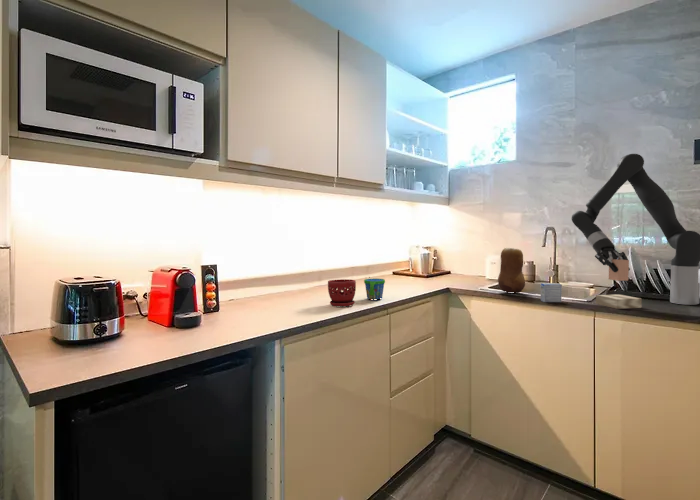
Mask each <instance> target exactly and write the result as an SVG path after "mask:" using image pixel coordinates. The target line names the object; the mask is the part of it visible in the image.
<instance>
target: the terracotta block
mask: <svg viewBox="0 0 700 500" xmlns="http://www.w3.org/2000/svg"><path fill="white" fill-rule="evenodd" d="M612 261H613V263H614V264H615V265H616V267H617V268H618V271H617V272H613V271H612V269H611V268H610V267H609V266H608V280H609V281H610V280H612V281H615V282H616V281H617V282H619V281H620V282H621V281H622V282H624V281H627V282H628V281H629V271H630V270H629V268H630V260H629V259H628V260H620V259H618V258H617V259H612Z"/></svg>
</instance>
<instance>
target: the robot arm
mask: <svg viewBox="0 0 700 500" xmlns="http://www.w3.org/2000/svg"><path fill="white" fill-rule="evenodd" d="M644 165H645V159H644V157H643V156H642V155H640V154H639V153H629V154H626V155H624V156H622V157H620V158H619V160H618V161H617V164H616V167H617V168H616V169H615V171H614V172H613V174H611V176H610V177H609V179H608V180H606V181H605V183H604V184H602V185H601V187H599V188H598V189H597V190H596V191H595V193H593V195H592V196H591V197H590V198H589V200H588V201H587V202H586V204H585V206H586V208H587V209H586V211H583V210H577V211H575V212H573V213H572V215H571V222H572V223H573V225H574V226H575V227H576V228H577V229H578V230H579V231H580V232H582V234H583V235H584V237H585V238H586V240H587V241H588V243H589V245H590V246H591V247H592V249H593V250H594V251H595V252H596V254H595V255H594V257H595V259H596V260H598V262H600V263H601V264H602V265H603V266H608V268H609V267H610V268H611V269H612V271H613V272H617V271H618V268H617V267H616V265H615V264H614V263H613V261H612V259H620V260H629V259H628V256H627V255H626V253H625V252H624V251H622V252H619V251H617V250H616V246H615V244H614V243H613V242H612V241H611V240H610V238H609V237H608V236H607V234H606V233H605V232H603V230H602V229H601V228H600V227H599V226H598V225H597V224H595V222H596V219H597V218H598V216H599V215H600V212H601V210H602V209H603V208H605V206H606V205H607V203H609V201H610V200H611V199H612V197H614V195H615V194H616V193H617V192H618V191H619V190H620V189H621V188H622V187H623V185H624V184H625V183H626V182H628V183H630V185H631V186H632V188H633V190H634V192H635V194H636V195H637V197H638V198H639V200H640V202H641V203H642V205H643V206H644V208H645V209H646V211H647V212H648V214H650V216H651V217H652V219H653V220H654V221H655V222H656V224H657V225H658V227H659V228H660V229H661V231H662V234H663V235H664V237H665V239H666V241H667V243H668V244H669V246H670V247H671V248H673V249H674V250H675V256H674V257H673V258H672V259H671V260H670V262H671V263H670V288H669V289H670V290H669V291H670V293H669V294H670V295H669V302H670V303H673V304H679V305H686V306H690V305H691V306H696V305H699V304H700V282H699V266H700V265H699V264H700V233H698V232H697V231H695V230H687V229H686V228H684V227H683V225H682V224H681V223H680V222H679V220H678V217H677V215H676V214H677V213H676V211H675V206H674V203H673V202H672V199H670V197H669V195H668V194H667V193H666V192H665V191H664V189H663V188H662V187H661V186H660V185H659V184H658V183H656V182H655V181H654V180H653V179H652V178H651V177H650V176H649V175H648V173H647V172H646V170H645V169H644ZM630 270H631V268H630V267H629V271H630Z"/></svg>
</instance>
